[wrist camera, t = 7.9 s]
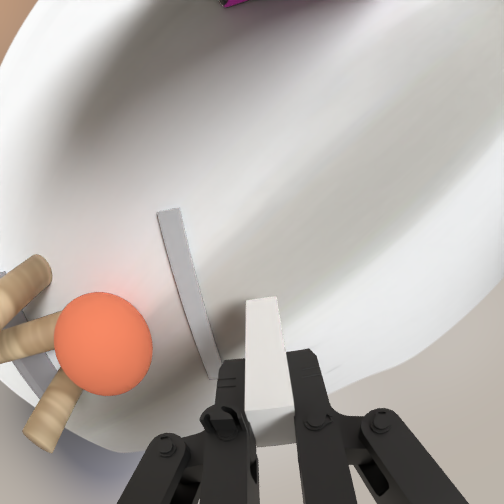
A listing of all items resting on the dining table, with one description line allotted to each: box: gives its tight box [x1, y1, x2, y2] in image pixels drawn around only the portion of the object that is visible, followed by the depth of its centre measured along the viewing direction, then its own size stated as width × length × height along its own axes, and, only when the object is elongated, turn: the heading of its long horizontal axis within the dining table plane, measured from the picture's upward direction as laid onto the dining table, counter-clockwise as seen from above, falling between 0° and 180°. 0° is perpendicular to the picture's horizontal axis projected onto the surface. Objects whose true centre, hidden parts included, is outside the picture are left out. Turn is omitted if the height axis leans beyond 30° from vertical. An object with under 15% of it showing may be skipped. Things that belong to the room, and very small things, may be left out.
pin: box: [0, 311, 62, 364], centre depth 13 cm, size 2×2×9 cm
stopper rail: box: [0, 271, 57, 399], centre depth 16 cm, size 2×12×3 cm, turn 9°
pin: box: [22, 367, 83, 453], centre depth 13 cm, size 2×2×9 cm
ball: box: [54, 292, 153, 396], centre depth 13 cm, size 6×6×6 cm
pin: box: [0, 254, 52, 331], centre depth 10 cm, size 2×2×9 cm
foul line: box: [157, 208, 222, 380], centre depth 15 cm, size 1×12×1 cm, turn 9°
